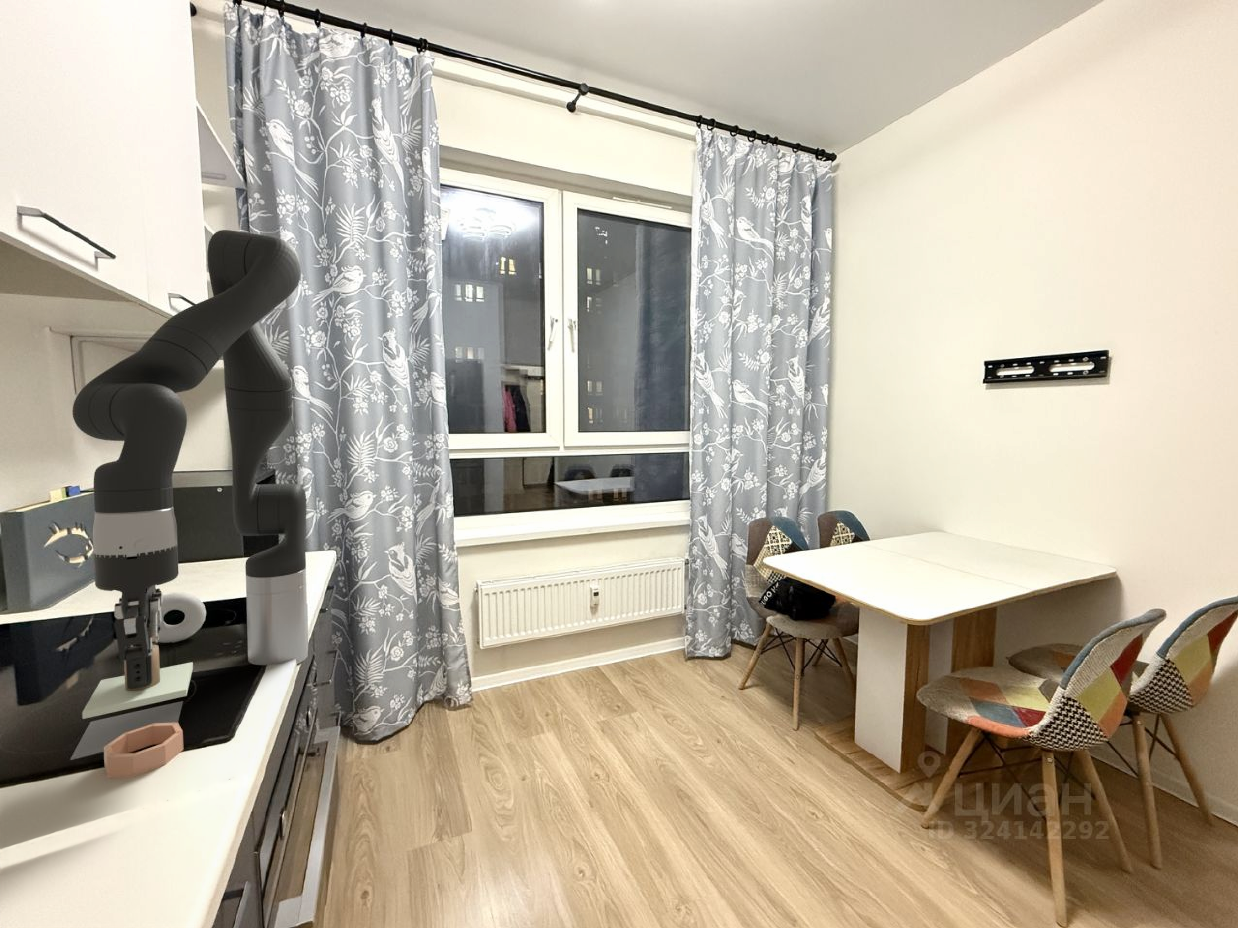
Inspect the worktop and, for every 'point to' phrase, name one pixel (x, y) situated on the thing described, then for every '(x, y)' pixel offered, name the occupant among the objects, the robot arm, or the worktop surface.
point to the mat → (123, 727)
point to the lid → (139, 689)
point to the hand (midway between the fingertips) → (142, 679)
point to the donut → (190, 624)
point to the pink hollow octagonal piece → (134, 764)
